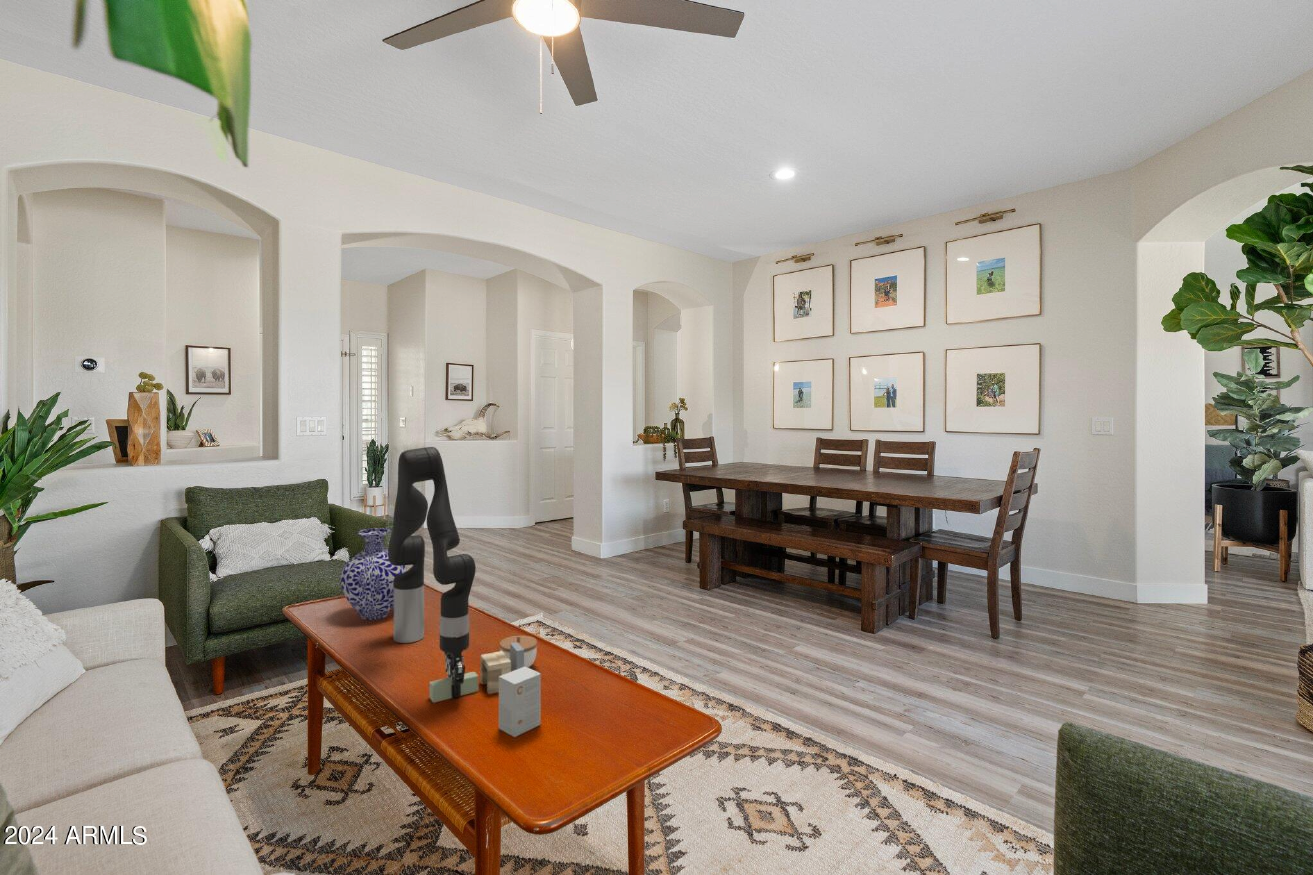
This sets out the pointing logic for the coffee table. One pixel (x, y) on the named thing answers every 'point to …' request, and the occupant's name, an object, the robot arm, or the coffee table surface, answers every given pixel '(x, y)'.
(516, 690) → the small box
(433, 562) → the robot arm
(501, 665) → the block
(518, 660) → the wall
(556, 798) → the coffee table surface
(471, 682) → the pale green rectangular bar
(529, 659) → the lidded jar
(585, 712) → the coffee table surface
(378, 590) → the vase
